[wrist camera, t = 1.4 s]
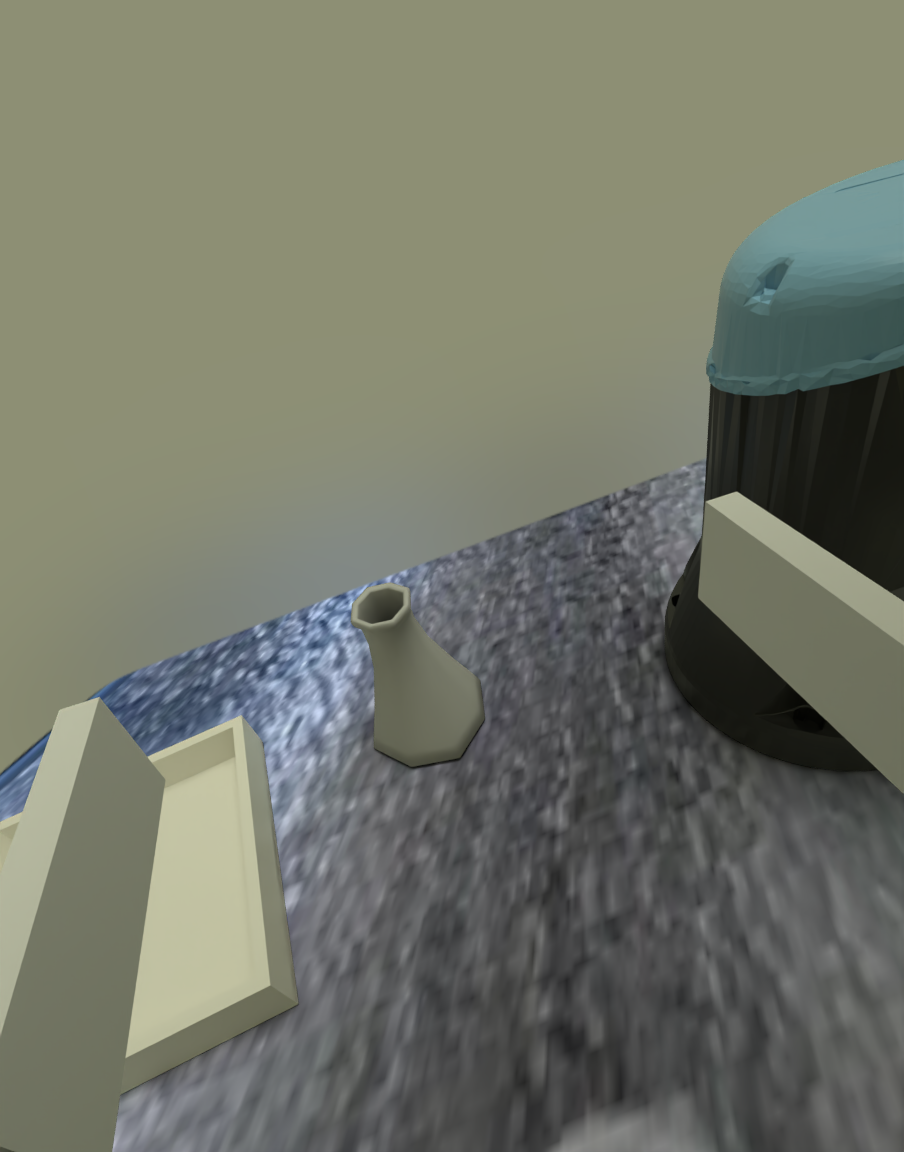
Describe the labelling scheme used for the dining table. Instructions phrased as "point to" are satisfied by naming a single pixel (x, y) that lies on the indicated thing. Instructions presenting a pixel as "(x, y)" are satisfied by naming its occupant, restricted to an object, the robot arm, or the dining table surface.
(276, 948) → the box
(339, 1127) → the dining table surface
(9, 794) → the dining table surface
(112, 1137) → the robot arm
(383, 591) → the flask
